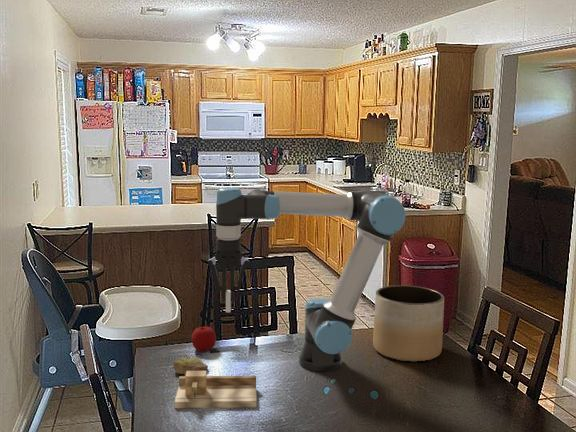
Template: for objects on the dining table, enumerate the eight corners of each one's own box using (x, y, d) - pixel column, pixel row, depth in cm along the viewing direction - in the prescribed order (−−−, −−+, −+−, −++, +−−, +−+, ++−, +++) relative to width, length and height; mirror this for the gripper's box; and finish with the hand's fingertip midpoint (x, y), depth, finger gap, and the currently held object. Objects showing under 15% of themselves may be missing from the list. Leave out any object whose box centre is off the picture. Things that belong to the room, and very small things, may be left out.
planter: (440, 342, 227) (443, 287, 224) (442, 367, 203) (446, 307, 199) (375, 335, 233) (377, 282, 229) (369, 359, 208) (372, 300, 205)
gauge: (206, 389, 178) (206, 370, 177) (204, 402, 170) (204, 382, 169) (186, 389, 178) (186, 370, 177) (183, 402, 169) (183, 383, 168)
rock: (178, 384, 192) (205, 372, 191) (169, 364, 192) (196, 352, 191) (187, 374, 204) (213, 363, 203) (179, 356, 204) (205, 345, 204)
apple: (214, 354, 210) (214, 328, 208) (189, 354, 210) (189, 328, 208) (217, 345, 219) (217, 320, 218) (193, 344, 219) (193, 319, 218)
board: (255, 389, 183) (256, 375, 183) (256, 407, 171) (256, 392, 171) (179, 389, 182) (179, 376, 181) (174, 408, 170) (174, 393, 169)
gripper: (249, 235, 183) (248, 307, 187) (208, 235, 183) (208, 307, 186) (249, 240, 176) (248, 314, 180) (206, 240, 175) (206, 314, 179)
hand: (228, 311), depth 183 cm, fingers closed
